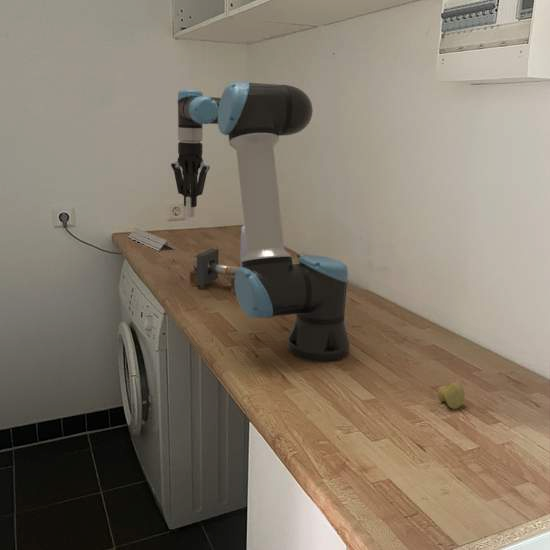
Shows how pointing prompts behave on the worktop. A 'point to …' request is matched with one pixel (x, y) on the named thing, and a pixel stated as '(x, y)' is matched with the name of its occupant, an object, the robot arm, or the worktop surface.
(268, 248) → the robot arm
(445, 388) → the knob
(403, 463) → the worktop surface
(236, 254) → the worktop surface
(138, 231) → the corner bead
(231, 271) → the pipe
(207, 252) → the collar
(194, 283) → the saddles
